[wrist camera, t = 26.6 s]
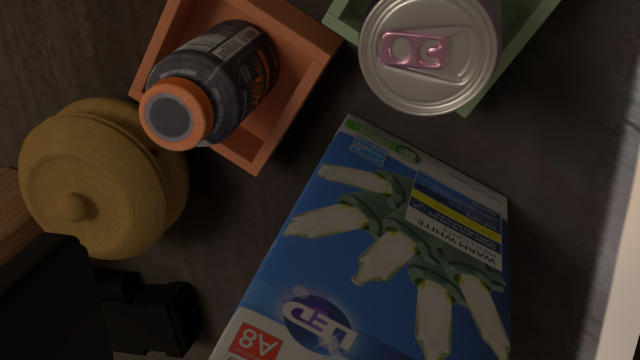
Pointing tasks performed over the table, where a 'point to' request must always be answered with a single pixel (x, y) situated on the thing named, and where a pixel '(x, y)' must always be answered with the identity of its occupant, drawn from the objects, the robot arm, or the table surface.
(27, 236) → the decorative item
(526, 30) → the sage bin
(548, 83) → the table surface
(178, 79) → the pill bottle
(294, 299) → the string lights box
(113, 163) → the pot
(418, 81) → the beverage can
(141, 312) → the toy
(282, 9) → the terracotta bin
